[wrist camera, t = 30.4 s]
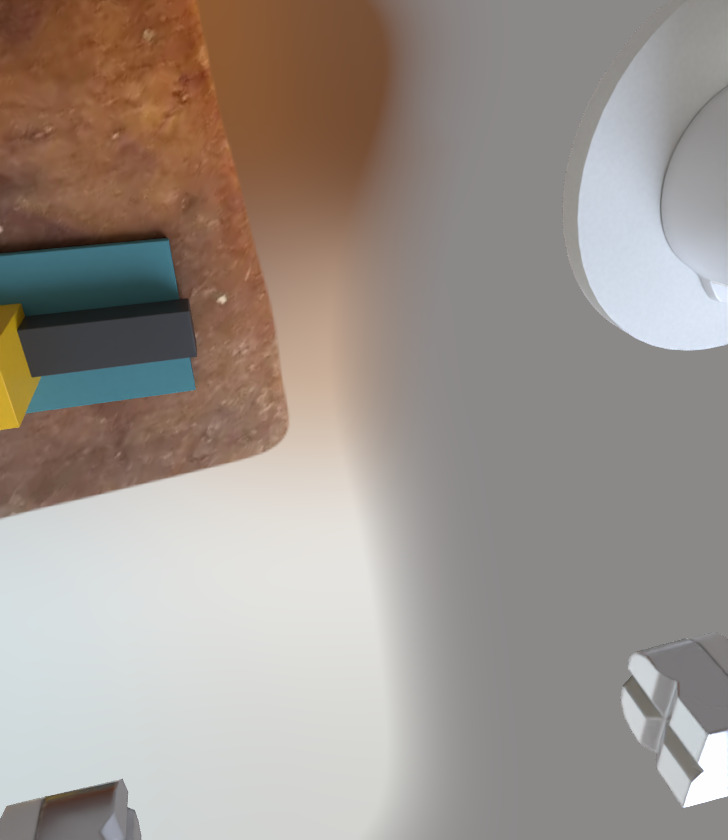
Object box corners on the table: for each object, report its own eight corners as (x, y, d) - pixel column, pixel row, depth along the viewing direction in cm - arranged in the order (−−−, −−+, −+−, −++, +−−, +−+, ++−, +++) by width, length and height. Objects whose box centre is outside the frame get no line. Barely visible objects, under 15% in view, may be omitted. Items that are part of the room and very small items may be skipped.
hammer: (186, 285, 40) (187, 324, 34) (198, 354, 43) (201, 401, 37) (-111, 317, 37) (-166, 366, 31) (-81, 389, 39) (-127, 448, 33)
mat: (168, 237, 39) (168, 239, 39) (195, 386, 44) (195, 390, 44) (-89, 261, 37) (-93, 264, 36) (-30, 417, 42) (-32, 421, 41)
